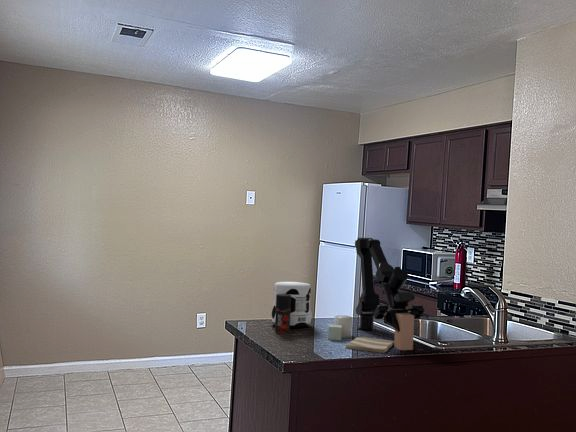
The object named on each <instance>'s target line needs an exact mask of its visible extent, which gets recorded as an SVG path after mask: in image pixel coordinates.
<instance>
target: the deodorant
mask: <svg viewBox="0 0 576 432" xmlns="http://www.w3.org/2000/svg"><path fill="white" fill-rule="evenodd" d="M290 308H291V295H289V294H277V295H276V318H275V324H274V333H276V334H284V335H285V334H290V332H291V331H290V328H291V327H290Z"/></svg>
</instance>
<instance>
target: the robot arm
mask: <svg viewBox="0 0 576 432" xmlns="http://www.w3.org/2000/svg"><path fill="white" fill-rule="evenodd" d="M354 248H355V251H356V254H357V255H358V257H359V258H360V267H361V269H360V270H361V282H362V283H361V286H362V293H361V294H360V296H359V299H358V301H359V302H358V304H357V306H356V307H355V314H356V315H357V316H360V317H359V318H360V319H359V320H360V321H359V326H358V327H357V330H362V331H371V332H373V331H374V330H376V327H374V324H375V322H374V321H375V320H383V321H384V322H387V324H389V325H390V326H391V327H392V328H393V329H394V330H395V329H396V330H397V331H398V332H399V331H400V328H399V325H398V322H397V319H396V315H395V314H396V313H409V314H411V315H414V320H418V319H421V317H422V316H423V314H424V312H425V311H426V310H425V307H424V305H422V304H413V305H412V306H411V307H410V308H407V307H408V306H409V303H410V302H413V301H414V300H415V298H416V297H415V295H416V294H415V292H414V291H412V290H409V291H408V292H407V291H405V292H403V291H402V292H401V290H400V289H402V288H403V287H404V285H405V284H406V282H407V280H408V279H409V273H408V272H407V271H405V270H404V269H401V266H395V267H394V266H392V265H391V264H389V263H388V261H387V258H386V256H385V255H386V254H385V253H384V251H383V249H382V247H381V241H380V240H379V239H378V238H377V239H375V238H373V237H357V239H356V240H355V242H354ZM373 262H374V265H375V268H376V272H375V278H376V281H377V283H378V284H380V285H384V286H383V289H382V292H381V294H384V295H385V298H386V300H387V301H386V303H385V304H381V302H380V295H379V294H378V293H377V292H376V291H375V285H374V284H375V283H374V271H373V270H374V269H373Z"/></svg>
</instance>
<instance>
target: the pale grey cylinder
mask: <svg viewBox="0 0 576 432" xmlns="http://www.w3.org/2000/svg"><path fill="white" fill-rule="evenodd" d="M333 325H342V338H351V337H352V336H353V335H352V330H353V317H352V316H351V315H345V314H344V315H343V314H342V315H341V314H340V315H339V314H338V315H335V316H334V324H333Z"/></svg>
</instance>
